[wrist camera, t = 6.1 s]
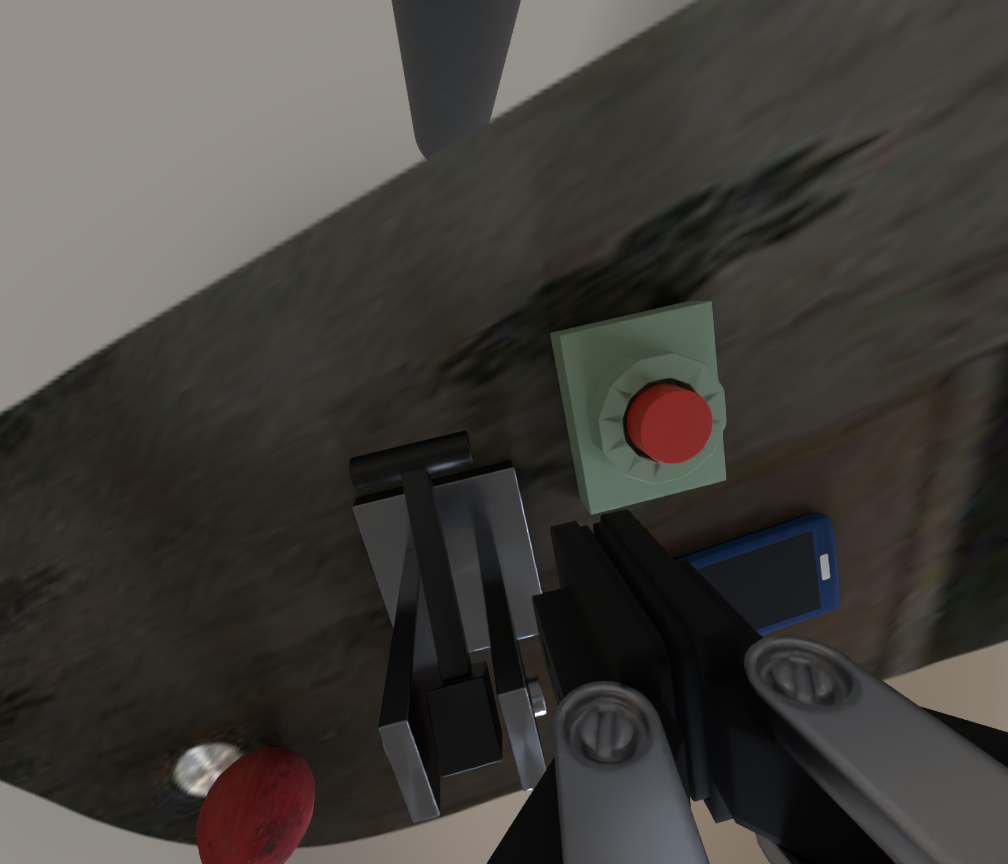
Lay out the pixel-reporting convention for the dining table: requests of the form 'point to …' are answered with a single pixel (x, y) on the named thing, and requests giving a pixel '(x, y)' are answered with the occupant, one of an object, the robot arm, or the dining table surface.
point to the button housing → (614, 386)
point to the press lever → (441, 603)
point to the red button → (669, 423)
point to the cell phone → (776, 572)
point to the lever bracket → (484, 612)
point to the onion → (257, 809)
